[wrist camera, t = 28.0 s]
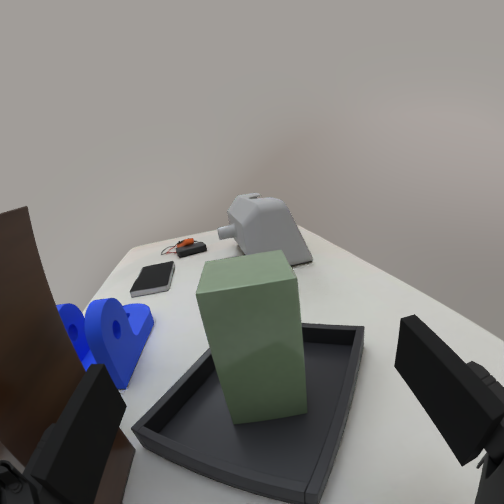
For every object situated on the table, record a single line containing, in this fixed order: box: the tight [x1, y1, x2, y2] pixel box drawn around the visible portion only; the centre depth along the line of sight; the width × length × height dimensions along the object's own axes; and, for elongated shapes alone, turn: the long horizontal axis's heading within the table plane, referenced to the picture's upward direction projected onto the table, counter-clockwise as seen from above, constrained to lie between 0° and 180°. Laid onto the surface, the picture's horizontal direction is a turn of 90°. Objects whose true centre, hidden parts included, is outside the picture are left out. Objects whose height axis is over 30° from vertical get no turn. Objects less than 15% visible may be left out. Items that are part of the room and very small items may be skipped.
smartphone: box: [130, 261, 175, 297], centre depth 58 cm, size 8×1×15 cm
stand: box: [0, 206, 135, 504], centre depth 11 cm, size 9×9×20 cm
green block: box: [196, 250, 308, 424], centre depth 21 cm, size 6×6×12 cm
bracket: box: [56, 298, 154, 389], centre depth 33 cm, size 18×8×9 cm, turn 4°
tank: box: [218, 193, 313, 266], centre depth 63 cm, size 25×16×12 cm, turn 12°
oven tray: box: [131, 323, 364, 504], centre depth 23 cm, size 15×19×3 cm
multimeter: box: [161, 238, 207, 257], centre depth 79 cm, size 18×12×3 cm, turn 19°
